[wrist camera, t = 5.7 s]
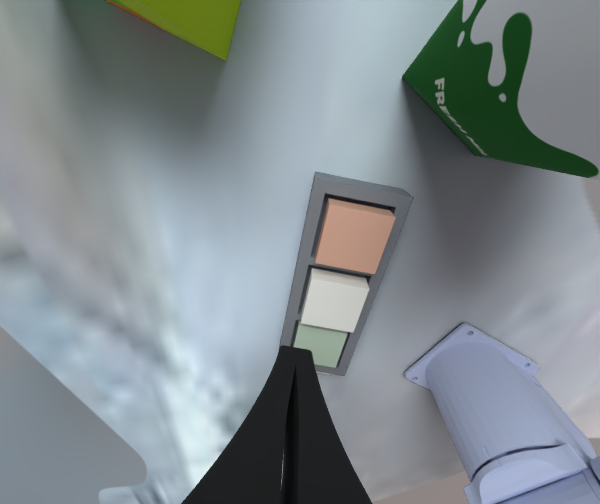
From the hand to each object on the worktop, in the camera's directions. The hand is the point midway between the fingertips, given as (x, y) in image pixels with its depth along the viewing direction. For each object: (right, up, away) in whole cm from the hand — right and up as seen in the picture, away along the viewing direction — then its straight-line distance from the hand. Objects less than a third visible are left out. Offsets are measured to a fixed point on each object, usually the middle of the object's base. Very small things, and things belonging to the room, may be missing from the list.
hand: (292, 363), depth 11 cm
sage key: (+2, -2, +12) cm, 12 cm away
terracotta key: (+4, +6, +6) cm, 9 cm away
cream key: (+3, +2, +8) cm, 9 cm away
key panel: (+3, +2, +10) cm, 11 cm away
